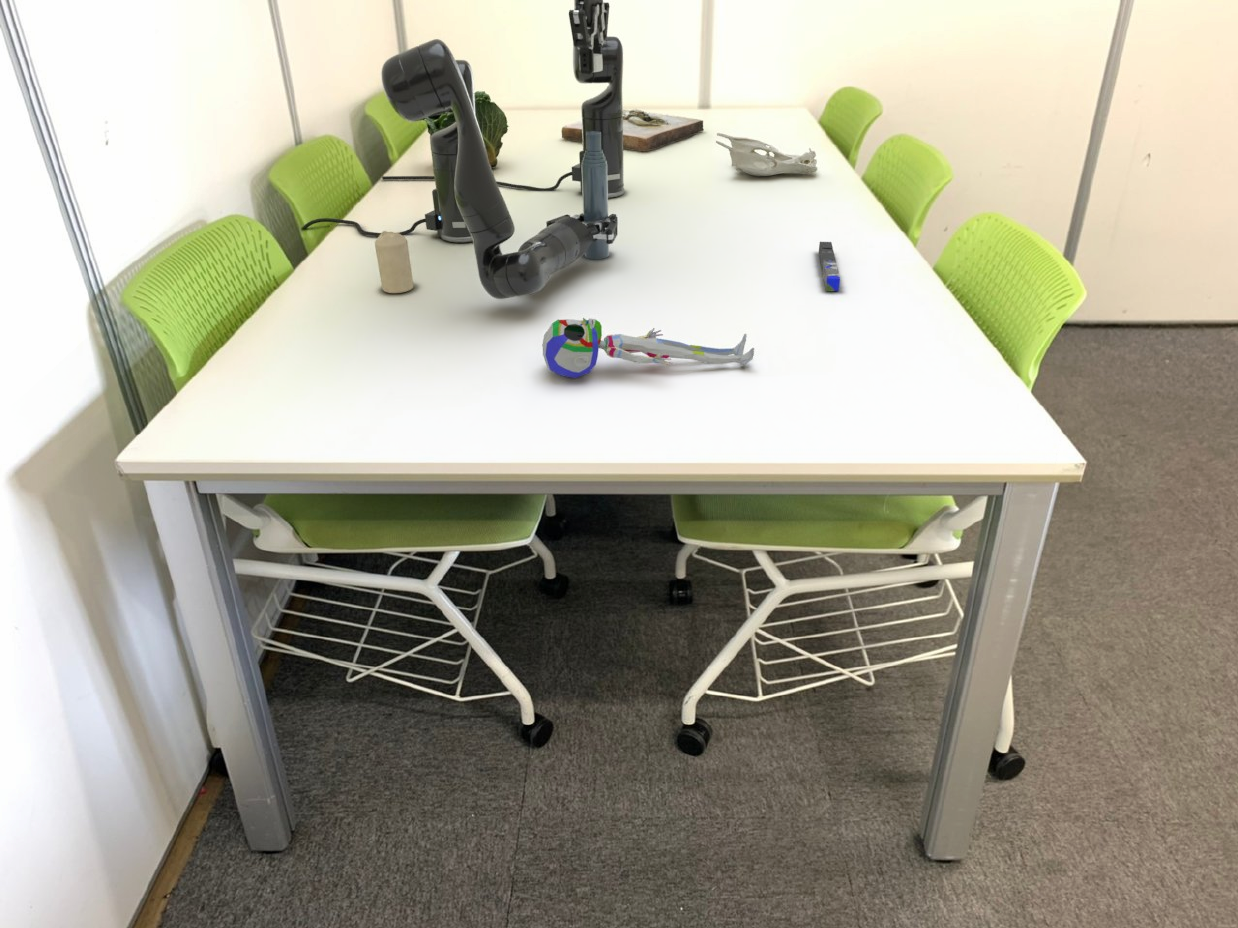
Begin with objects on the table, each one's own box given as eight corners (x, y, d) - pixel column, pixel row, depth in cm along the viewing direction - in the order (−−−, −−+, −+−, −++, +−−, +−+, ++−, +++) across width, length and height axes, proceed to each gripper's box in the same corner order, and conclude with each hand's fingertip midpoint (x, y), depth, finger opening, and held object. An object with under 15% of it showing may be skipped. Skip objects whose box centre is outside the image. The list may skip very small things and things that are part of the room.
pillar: (831, 242, 170) (840, 279, 154) (830, 253, 172) (838, 291, 155) (819, 241, 171) (827, 279, 154) (818, 252, 172) (825, 291, 155)
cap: (595, 73, 153) (595, 57, 152) (575, 71, 155) (574, 56, 153) (606, 69, 156) (606, 54, 155) (586, 68, 158) (586, 53, 156)
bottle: (580, 257, 172) (575, 134, 160) (591, 250, 176) (587, 129, 164) (602, 260, 170) (599, 136, 158) (613, 253, 174) (611, 131, 162)
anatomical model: (717, 129, 225) (818, 128, 221) (717, 166, 230) (815, 166, 226) (714, 143, 213) (820, 142, 209) (713, 182, 217) (817, 182, 214)
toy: (760, 346, 125) (547, 329, 121) (748, 400, 130) (541, 385, 125) (744, 318, 134) (544, 300, 129) (733, 369, 138) (539, 354, 134)
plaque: (647, 125, 237) (559, 112, 252) (647, 153, 241) (560, 139, 256) (706, 107, 258) (622, 97, 273) (705, 133, 262) (622, 121, 277)
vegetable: (456, 190, 238) (411, 121, 230) (516, 151, 239) (474, 80, 231) (465, 191, 219) (416, 116, 212) (530, 148, 221) (484, 71, 213)
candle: (419, 284, 161) (411, 229, 156) (403, 295, 157) (395, 239, 151) (392, 280, 162) (384, 226, 157) (376, 291, 158) (367, 236, 153)
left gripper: (595, 228, 154) (636, 202, 167) (523, 219, 159) (568, 194, 172) (597, 270, 158) (636, 241, 171) (526, 259, 163) (569, 232, 176)
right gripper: (581, -45, 153) (585, 64, 162) (550, -40, 142) (556, 77, 151) (623, -45, 151) (624, 66, 160) (595, -40, 139) (598, 79, 149)
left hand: (601, 217), depth 172 cm, fingers closed on bottle, 4 cm apart
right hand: (591, 70), depth 155 cm, fingers closed on cap, 3 cm apart
